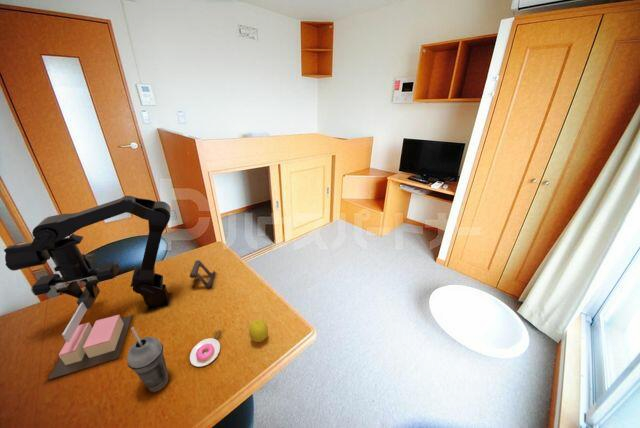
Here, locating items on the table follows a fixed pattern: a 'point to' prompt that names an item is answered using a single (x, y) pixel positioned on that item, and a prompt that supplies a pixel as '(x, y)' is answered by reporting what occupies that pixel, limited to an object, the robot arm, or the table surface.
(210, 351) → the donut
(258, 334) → the lemon
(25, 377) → the table surface
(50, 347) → the table surface
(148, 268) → the robot arm
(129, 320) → the cake board
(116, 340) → the cake
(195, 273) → the tablet stand
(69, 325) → the knife
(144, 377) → the beverage cup
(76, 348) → the cake slice
